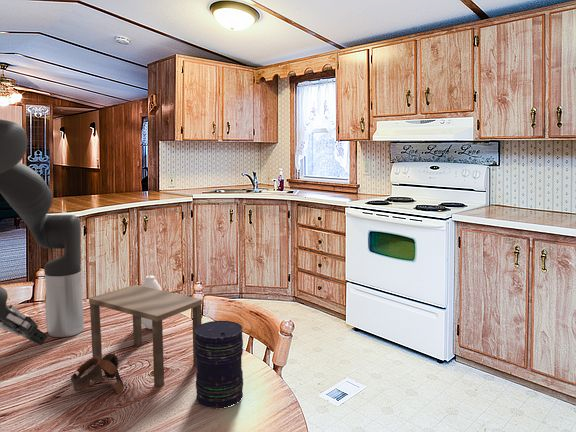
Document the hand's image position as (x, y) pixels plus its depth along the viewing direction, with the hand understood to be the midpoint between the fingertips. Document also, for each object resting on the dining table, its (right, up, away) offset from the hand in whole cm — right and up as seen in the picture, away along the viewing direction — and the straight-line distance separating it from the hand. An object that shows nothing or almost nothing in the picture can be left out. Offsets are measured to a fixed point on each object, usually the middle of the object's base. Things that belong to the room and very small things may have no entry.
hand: (42, 339), depth 94 cm
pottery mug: (+7, -14, +12) cm, 19 cm away
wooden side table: (+13, -12, +24) cm, 30 cm away
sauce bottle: (+8, -9, +47) cm, 49 cm away
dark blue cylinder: (+33, -14, +8) cm, 37 cm away
